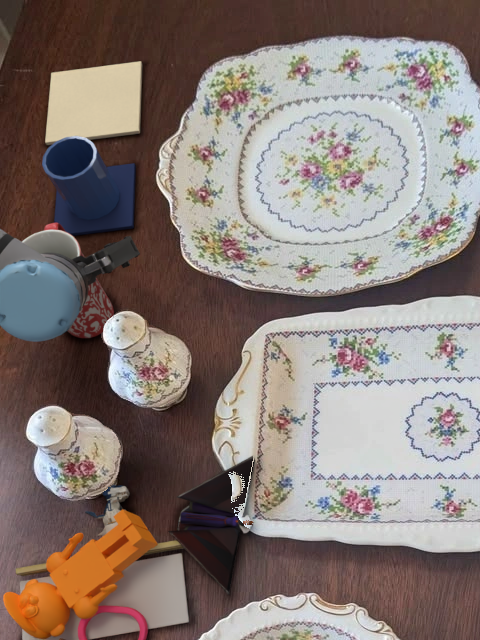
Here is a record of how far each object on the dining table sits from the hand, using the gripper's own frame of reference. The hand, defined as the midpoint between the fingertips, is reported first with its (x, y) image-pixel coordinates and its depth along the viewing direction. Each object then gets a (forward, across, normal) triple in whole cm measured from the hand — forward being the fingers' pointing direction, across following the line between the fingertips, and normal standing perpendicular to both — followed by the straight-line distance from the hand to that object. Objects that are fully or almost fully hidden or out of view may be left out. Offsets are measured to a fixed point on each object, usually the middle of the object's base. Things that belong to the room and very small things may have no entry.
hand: (67, 274), depth 107 cm
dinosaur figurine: (-25, -8, -30) cm, 40 cm away
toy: (-24, -13, -32) cm, 42 cm away
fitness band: (-28, -13, -37) cm, 49 cm away
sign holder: (-22, -11, -30) cm, 39 cm away
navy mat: (+17, +7, +7) cm, 20 cm away
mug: (+5, 0, -5) cm, 7 cm away
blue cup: (+17, +7, +7) cm, 20 cm away
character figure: (-22, -1, -30) cm, 37 cm away
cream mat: (+30, +14, +20) cm, 39 cm away
